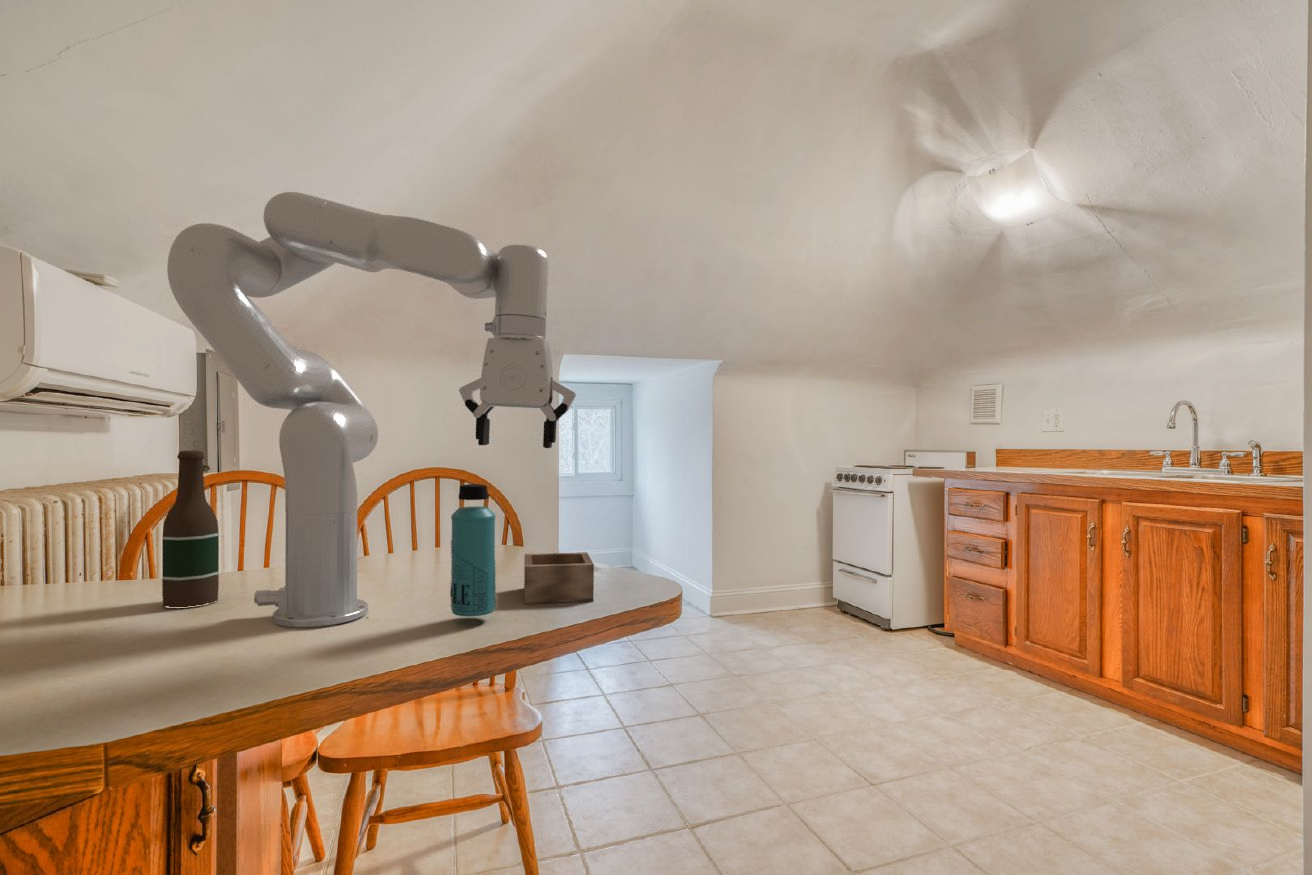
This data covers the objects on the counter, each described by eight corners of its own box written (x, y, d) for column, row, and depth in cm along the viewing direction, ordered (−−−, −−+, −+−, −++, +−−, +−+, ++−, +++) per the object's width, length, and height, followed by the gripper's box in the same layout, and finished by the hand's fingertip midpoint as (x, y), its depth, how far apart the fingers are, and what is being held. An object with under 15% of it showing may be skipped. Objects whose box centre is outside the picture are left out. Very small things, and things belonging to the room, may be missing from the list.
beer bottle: (229, 601, 108) (230, 450, 107) (174, 612, 101) (174, 452, 101) (205, 594, 112) (206, 449, 112) (151, 604, 105) (151, 450, 105)
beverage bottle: (502, 615, 102) (503, 482, 101) (486, 628, 95) (487, 486, 95) (460, 614, 102) (461, 481, 102) (441, 626, 96) (442, 485, 95)
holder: (524, 603, 109) (525, 566, 108) (524, 587, 119) (524, 553, 119) (593, 601, 111) (593, 564, 111) (586, 585, 122) (587, 552, 121)
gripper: (454, 325, 98) (449, 444, 98) (573, 330, 97) (568, 449, 97) (470, 333, 105) (466, 443, 105) (581, 337, 104) (577, 448, 105)
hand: (515, 446), depth 101 cm, fingers open, 9 cm apart
